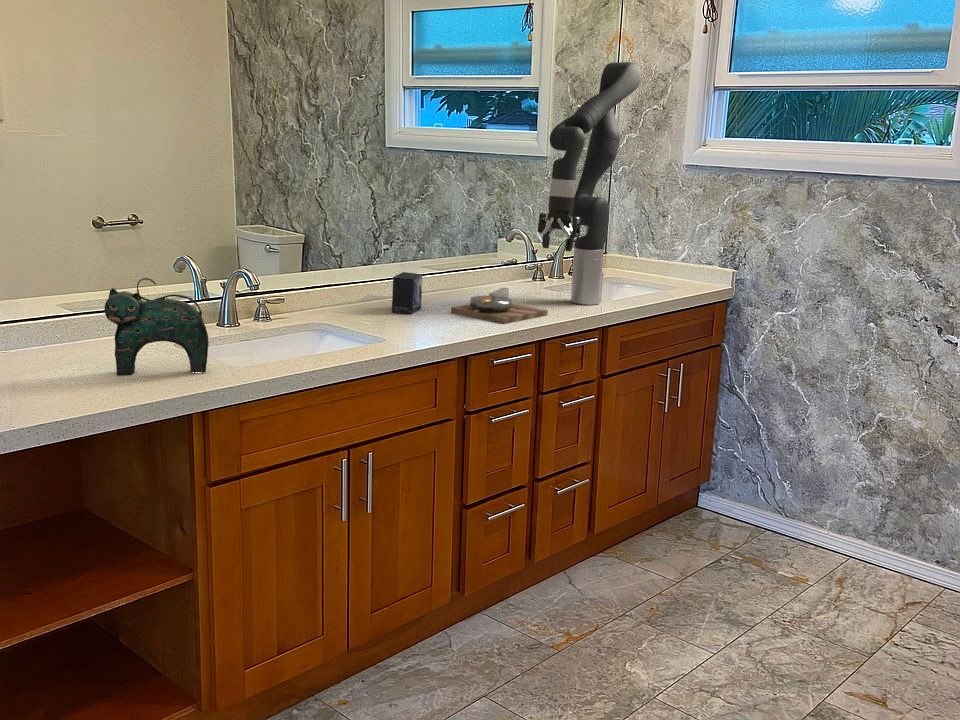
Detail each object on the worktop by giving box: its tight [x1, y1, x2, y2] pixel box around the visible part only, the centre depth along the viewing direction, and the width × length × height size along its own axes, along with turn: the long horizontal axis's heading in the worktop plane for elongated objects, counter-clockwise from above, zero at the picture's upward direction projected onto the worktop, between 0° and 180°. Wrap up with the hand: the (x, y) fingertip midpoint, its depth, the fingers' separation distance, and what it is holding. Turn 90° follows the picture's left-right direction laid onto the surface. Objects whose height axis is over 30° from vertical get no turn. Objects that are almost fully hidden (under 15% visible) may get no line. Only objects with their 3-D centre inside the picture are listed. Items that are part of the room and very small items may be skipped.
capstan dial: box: [469, 287, 513, 310], centre depth 278 cm, size 20×12×4 cm, turn 160°
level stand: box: [450, 302, 549, 325], centre depth 277 cm, size 20×20×2 cm
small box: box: [391, 271, 423, 315], centre depth 275 cm, size 11×6×10 cm, turn 168°
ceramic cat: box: [104, 277, 210, 376], centre depth 197 cm, size 20×6×20 cm, turn 103°
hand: (556, 249), depth 287 cm, fingers open, 8 cm apart
